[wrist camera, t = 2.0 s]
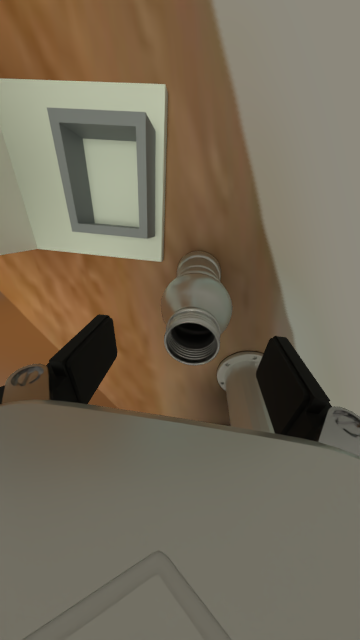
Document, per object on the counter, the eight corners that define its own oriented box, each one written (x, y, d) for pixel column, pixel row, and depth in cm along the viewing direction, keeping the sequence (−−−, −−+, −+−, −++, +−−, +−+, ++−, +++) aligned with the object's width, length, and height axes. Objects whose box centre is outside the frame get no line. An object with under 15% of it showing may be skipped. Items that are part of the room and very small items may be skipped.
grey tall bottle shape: (196, 238, 26) (180, 272, 9) (228, 267, 28) (267, 343, 11) (171, 272, 29) (123, 345, 12) (201, 296, 31) (198, 393, 14)
